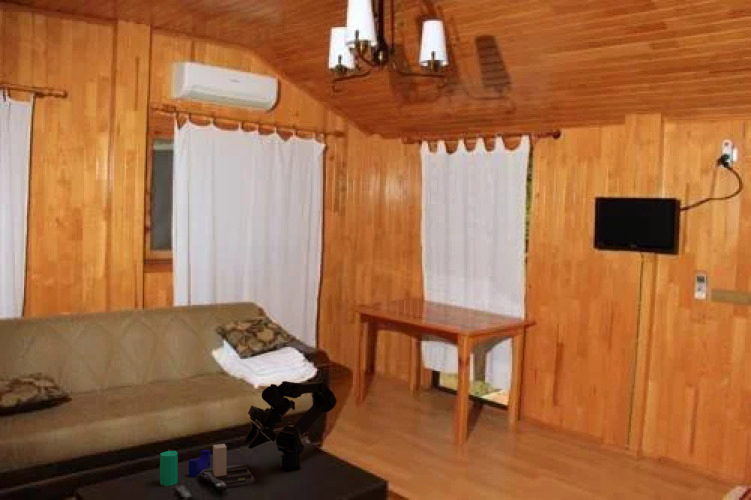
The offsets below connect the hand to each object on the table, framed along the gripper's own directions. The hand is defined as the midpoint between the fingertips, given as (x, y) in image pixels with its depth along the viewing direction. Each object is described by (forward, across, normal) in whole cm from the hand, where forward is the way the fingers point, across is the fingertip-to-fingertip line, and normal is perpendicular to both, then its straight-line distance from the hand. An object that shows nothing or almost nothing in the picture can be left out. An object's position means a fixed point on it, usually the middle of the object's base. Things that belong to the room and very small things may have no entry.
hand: (246, 445), depth 243 cm
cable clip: (+19, -13, -2) cm, 23 cm away
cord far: (+12, -8, +4) cm, 15 cm away
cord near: (+11, +8, +5) cm, 15 cm away
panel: (+12, 0, +4) cm, 13 cm away
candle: (+27, -5, -10) cm, 29 cm away
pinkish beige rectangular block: (+14, 0, 0) cm, 14 cm away
